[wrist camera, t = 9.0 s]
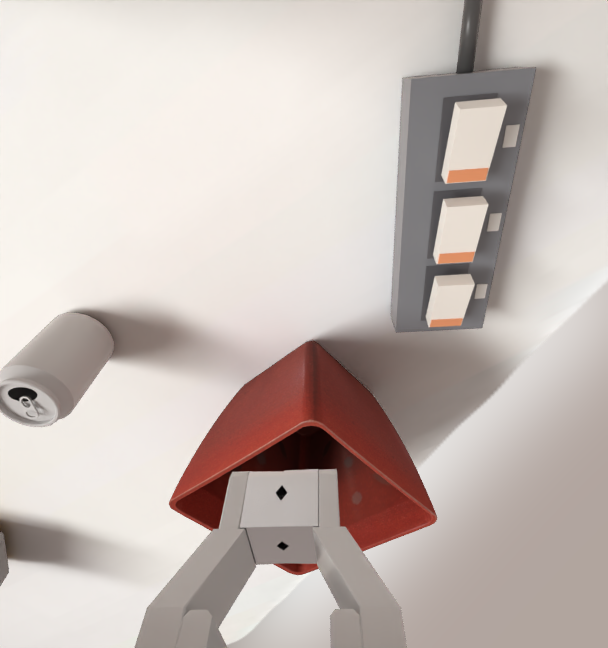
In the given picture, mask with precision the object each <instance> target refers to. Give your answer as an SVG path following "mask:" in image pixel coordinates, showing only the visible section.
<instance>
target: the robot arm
mask: <svg viewBox="0 0 608 648" xmlns="http://www.w3.org/2000/svg"><path fill="white" fill-rule="evenodd" d="M282 563H298V564H317V566H318V568H319V570H320V572H321V573H322V575H323V577H324V579H325V581H326V583H327V585H328V587H329V589H330V590H331V593H332V594H333V596H334V598H335V600H336V602H337V604H338V606H339V608H340V609H335V610H334V611H333V613H332V614H331V615H330V634H331V635H330V636H331V648H407V644H406V638H405V631H404V625H403V619H402V612H401V607H400V606H399V604H398V603H397V601H396V600H395V598H394V597H393V595H392V594H391V592H390V591H389V590H388V588H387V587H386V585H385V584H384V583H383V581H382V579H381V578H380V577H379V575H378V573H377V572H376V571H375V569H374V568H373V566H372V565H371V563H370V562H369V561H368V559H367V557H366V556H365V554H364V553H363V552H362V550H361V549H360V547H359V546H358V544H357V543H356V541H355V540H354V538H353V537H352V536H351V534H350V533H349V531H348V530H347V528H346V527H340V517H339V498H338V479H337V469H324V470H318V469H308V470H286V471H256V472H250V471H246V472H232V474H231V476H230V478H229V483H228V487H227V492H226V497H225V502H224V506H223V511H222V516H221V520H220V525H219V529H213V530H212V531H211V533H210V534H209V535H208V536H207V537H206V539H205V540H204V541H203V542H202V543H201V545H200V546H199V547H198V548H197V549H196V550H195V552H194V553H193V554H192V555H191V556H190V558H189V559H188V560H187V561H186V562H185V564H184V565H183V566H182V567H181V568H180V569H179V571H178V572H177V573H176V574H175V575H174V577H173V578H172V579H171V580H170V581H169V583H168V584H167V585H166V586H165V587H164V588H163V590H162V591H161V592H160V593H159V594H158V596H157V597H156V598H155V599H154V600H153V602H152V603H151V604H150V605H149V606H148V607H147V610H146V613H145V616H144V619H143V623H142V626H141V629H140V632H139V635H138V638H137V642H136V645H135V648H227V646H226V644H225V642H224V640H223V638H222V636H221V634H220V631H219V629H218V628H219V626H220V625H221V623H222V621H223V620H224V618H225V616H226V615H227V613H228V612H229V610H230V608H231V607H232V605H233V603H234V602H235V600H236V599H237V597H238V595H239V594H240V592H241V590H242V589H243V587H244V585H245V584H246V582H247V581H248V579H249V577H250V576H251V574H252V572H253V571H254V569H255V568H256V565H258V564H282Z"/></svg>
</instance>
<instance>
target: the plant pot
mask: <svg viewBox="0 0 608 648" xmlns="http://www.w3.org/2000/svg"><path fill="white" fill-rule="evenodd" d="M308 469H318V470H324V469H337V479H338V498H339V517H340V527H346V528H347V530H348V531H349V533H350V534H351V536H352V537H353V538H354V540H355V541H356V543H357V544H358V546H359V547H360V549H361V550H362V551H365V550H367V549H370V548H373V547H375V546H378V545H380V544H383V543H385V542H388V541H391V540H393V539H396V538H398V537H401V536H404V535H406V534H409V533H412V532H414V531H417V530H419V529H422V528H424V527H427V526H430V525H432V524H434V523H435V522H436V520H437V516H436V513H435V510H434V508H433V505H432V503H431V501H430V498H429V496H428V494H427V492H426V489H425V487H424V485H423V482H422V480H421V478H420V476H419V474H418V471H417V469H416V467H415V465H414V463H413V461H412V459H411V457H410V455H409V453H408V451H407V450H406V448H405V446H404V444H403V442H402V440H401V439H400V437H399V435H398V433H397V432H396V430H395V428H394V427H393V425H392V423H391V422H390V420H389V418H388V417H387V415H386V414H385V412H384V411H383V409H382V408H381V406H380V405H379V403H378V402H377V401H376V399H375V398H374V396H373V395H372V394H371V393H370V392H369V391H368V390H367V389H366V388H365V387H364V386H363V385H362V384H361V383H360V382H359V381H358V380H356V379H355V378H354V377H353V376H352V375H351V374H350V373H349V372H348V371H347V370H346V369H345V368H344V367H343V366H342V365H340V364H339V363H338V362H337V361H336V360H335V359H334V358H333V357H332V356H331V355H330V354H329V353H328V352H326V351H325V350H324V349H323V348H322V347H321V346H320V345H319V344H318V343H316V342H314V341H309V342H306V343H304V344H303V345H301V346H300V347H298V348H297V349H296V350H294V351H293V352H291V353H290V354H288V355H287V356H285V357H284V358H282V359H281V360H280V361H278V362H277V363H275V364H274V365H272V366H271V367H270V368H268V369H267V370H265V371H264V372H262V373H261V374H260V375H258V376H256V377H255V378H254V379H252V380H251V381H249V382H248V383H246V384H245V385H244V386H243V387H242V388H241V389H240V390H239V391H238V393H237V394H236V395H235V396H234V397H233V399H232V400H231V401H230V403H229V404H228V405H227V406H226V408H225V409H224V410H223V412H222V413H221V415H220V416H219V417H218V419H217V420H216V422H215V423H214V425H213V426H212V427H211V429H210V430H209V432H208V433H207V435H206V437H205V438H204V440H203V441H202V443H201V444H200V446H199V448H198V449H197V451H196V453H195V454H194V456H193V458H192V459H191V461H190V463H189V465H188V467H187V468H186V470H185V472H184V474H183V476H182V477H181V479H180V481H179V483H178V485H177V487H176V489H175V491H174V493H173V495H172V497H171V500H170V502H169V505H170V507H171V508H172V509H173V510H175V511H176V512H178V513H180V514H182V515H183V516H185V517H187V518H189V519H191V520H193V521H194V522H196V523H198V524H200V525H202V526H203V527H205V528H207V529H209V530H211V531H212V530H213V529H219V525H220V520H221V516H222V511H223V506H224V502H225V497H226V492H227V487H228V483H229V478H230V476H231V474H232V472H246V471H250V472H256V471H286V470H308ZM274 565H276V566H278V567H279V568H281V569H283V570H285V571H287V572H289V573H291V574H295V575H302V574H305V573H308V572H311V571H314V570H316V569H319V568H318V566H317V564H298V563H282V564H274Z"/></svg>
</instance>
